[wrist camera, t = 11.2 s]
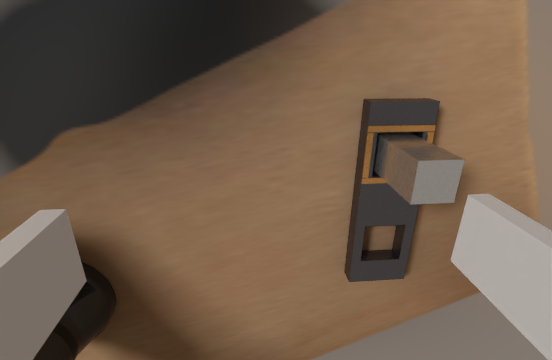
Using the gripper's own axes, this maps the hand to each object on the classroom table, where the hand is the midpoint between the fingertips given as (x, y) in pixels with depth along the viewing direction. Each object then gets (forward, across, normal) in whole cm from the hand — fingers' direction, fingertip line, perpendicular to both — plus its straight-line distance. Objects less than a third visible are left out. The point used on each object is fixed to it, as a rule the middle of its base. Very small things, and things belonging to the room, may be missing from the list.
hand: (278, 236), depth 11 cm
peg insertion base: (+32, +19, -14) cm, 40 cm away
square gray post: (+32, +19, -7) cm, 38 cm away
